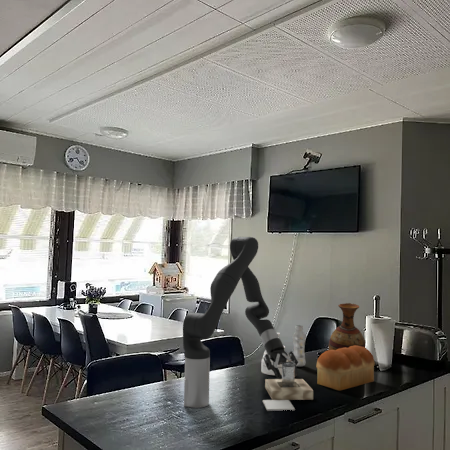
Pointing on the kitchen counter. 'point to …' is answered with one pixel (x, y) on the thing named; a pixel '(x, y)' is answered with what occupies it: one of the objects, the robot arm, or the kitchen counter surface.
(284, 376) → the steel plug
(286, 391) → the frame
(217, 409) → the kitchen counter surface
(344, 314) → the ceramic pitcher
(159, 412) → the kitchen counter surface
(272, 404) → the grey rubber pad
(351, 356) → the bread
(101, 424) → the kitchen counter surface
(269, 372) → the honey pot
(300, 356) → the plastic bottle
